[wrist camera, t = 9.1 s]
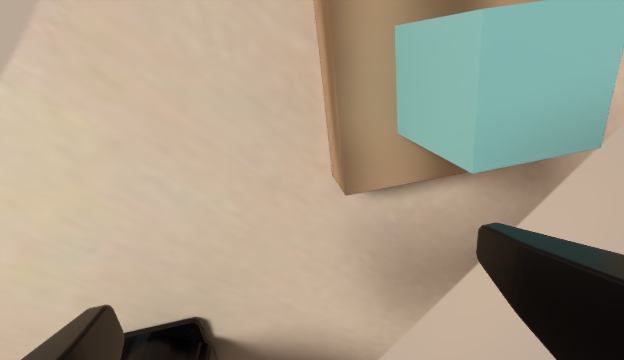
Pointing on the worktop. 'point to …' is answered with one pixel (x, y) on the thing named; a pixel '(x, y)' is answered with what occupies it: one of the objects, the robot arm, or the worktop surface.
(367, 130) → the oak base
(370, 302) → the worktop surface
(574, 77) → the teal block
